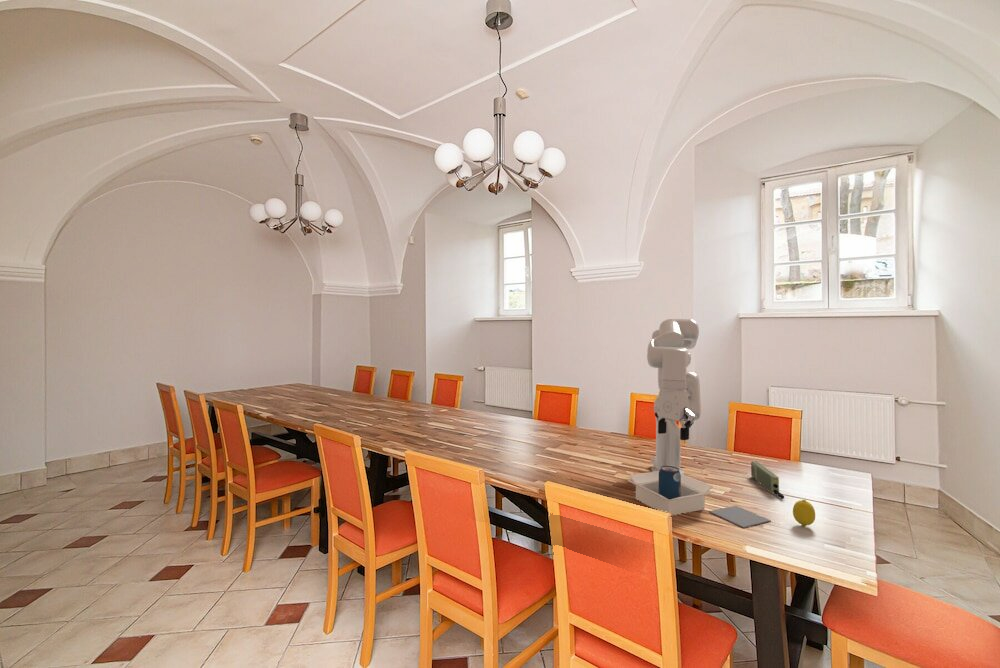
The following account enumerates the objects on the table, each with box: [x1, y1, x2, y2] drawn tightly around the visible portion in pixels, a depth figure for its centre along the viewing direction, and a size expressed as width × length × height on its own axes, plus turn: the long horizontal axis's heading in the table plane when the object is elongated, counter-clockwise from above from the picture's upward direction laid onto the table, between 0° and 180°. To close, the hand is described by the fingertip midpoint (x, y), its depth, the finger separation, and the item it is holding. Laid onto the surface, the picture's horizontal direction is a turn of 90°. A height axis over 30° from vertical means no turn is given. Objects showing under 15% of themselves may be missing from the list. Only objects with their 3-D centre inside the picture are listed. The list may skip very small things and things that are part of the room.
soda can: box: [658, 466, 681, 500], centre depth 146 cm, size 7×7×12 cm
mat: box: [709, 505, 772, 529], centre depth 136 cm, size 12×12×1 cm
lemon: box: [792, 499, 816, 527], centre depth 130 cm, size 6×6×8 cm
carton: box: [627, 471, 715, 516], centre depth 146 cm, size 22×22×7 cm
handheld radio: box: [750, 460, 785, 500], centre depth 163 cm, size 7×3×25 cm
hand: (673, 436), depth 146 cm, fingers open, 9 cm apart
